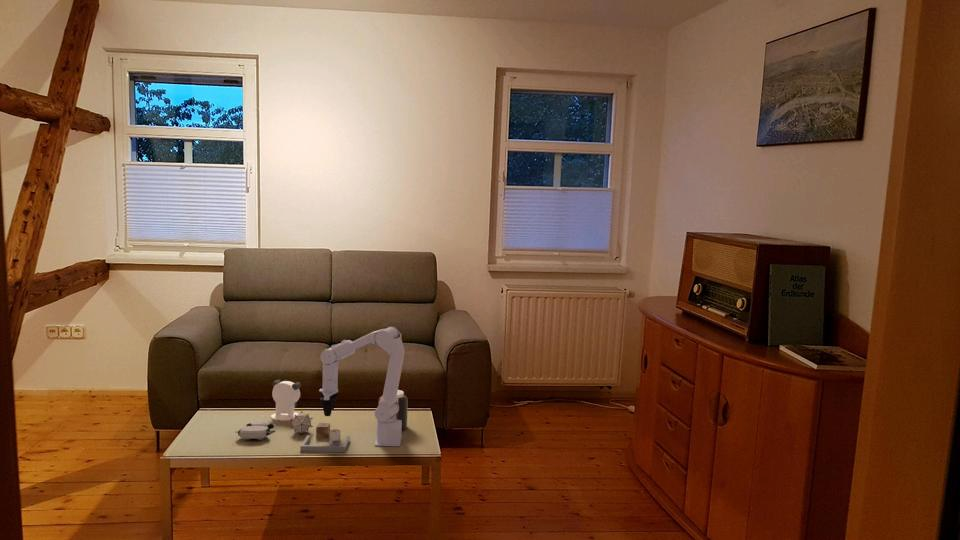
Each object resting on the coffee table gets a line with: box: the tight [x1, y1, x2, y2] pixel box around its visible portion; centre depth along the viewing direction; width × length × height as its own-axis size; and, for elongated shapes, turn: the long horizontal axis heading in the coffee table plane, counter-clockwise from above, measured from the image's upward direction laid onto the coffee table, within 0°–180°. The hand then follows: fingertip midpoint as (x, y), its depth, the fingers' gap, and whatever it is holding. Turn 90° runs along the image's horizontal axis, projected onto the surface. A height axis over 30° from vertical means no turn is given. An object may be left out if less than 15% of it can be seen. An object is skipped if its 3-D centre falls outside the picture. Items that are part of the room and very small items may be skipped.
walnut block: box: [315, 422, 331, 439], centre depth 237 cm, size 4×4×4 cm
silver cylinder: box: [328, 428, 341, 446], centre depth 226 cm, size 4×4×6 cm
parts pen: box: [300, 434, 351, 453], centre depth 227 cm, size 16×11×2 cm
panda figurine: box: [270, 379, 302, 422], centre depth 257 cm, size 12×11×15 cm
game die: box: [289, 410, 314, 436], centre depth 239 cm, size 9×8×10 cm
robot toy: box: [234, 421, 277, 441], centre depth 234 cm, size 12×4×15 cm
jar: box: [378, 389, 409, 433], centre depth 248 cm, size 12×12×15 cm
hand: (329, 412), depth 238 cm, fingers open, 7 cm apart
